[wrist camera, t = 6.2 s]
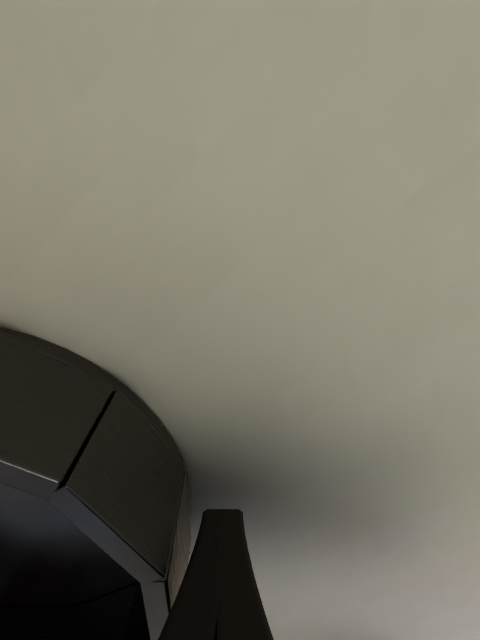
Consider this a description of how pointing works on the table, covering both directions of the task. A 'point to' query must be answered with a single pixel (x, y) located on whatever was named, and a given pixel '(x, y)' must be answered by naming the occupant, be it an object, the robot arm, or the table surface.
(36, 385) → the pan
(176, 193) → the table surface
